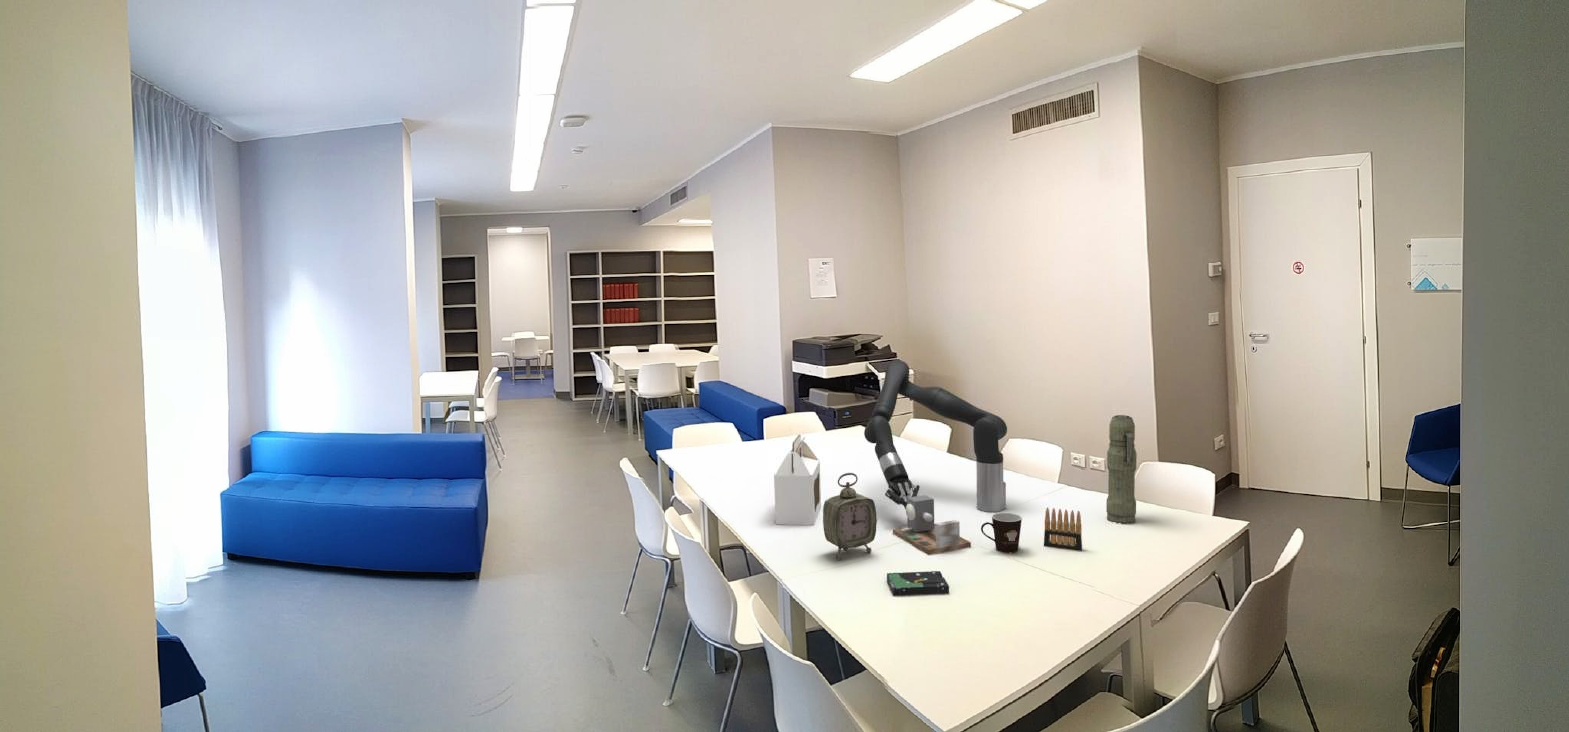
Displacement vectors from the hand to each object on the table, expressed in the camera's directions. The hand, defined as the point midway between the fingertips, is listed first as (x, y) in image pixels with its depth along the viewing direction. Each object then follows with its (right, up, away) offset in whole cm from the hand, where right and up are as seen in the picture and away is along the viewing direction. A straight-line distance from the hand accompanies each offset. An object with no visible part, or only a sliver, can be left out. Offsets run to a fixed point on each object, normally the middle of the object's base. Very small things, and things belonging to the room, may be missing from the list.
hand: (912, 513), depth 237 cm
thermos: (+70, -3, +4) cm, 70 cm away
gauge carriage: (+1, -4, -6) cm, 7 cm away
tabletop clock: (-22, -9, -19) cm, 30 cm away
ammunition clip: (+42, -7, -20) cm, 47 cm away
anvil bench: (+4, -7, -9) cm, 12 cm away
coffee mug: (+24, -7, -19) cm, 31 cm away
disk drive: (-7, -11, -45) cm, 47 cm away
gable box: (-37, -5, +21) cm, 43 cm away
